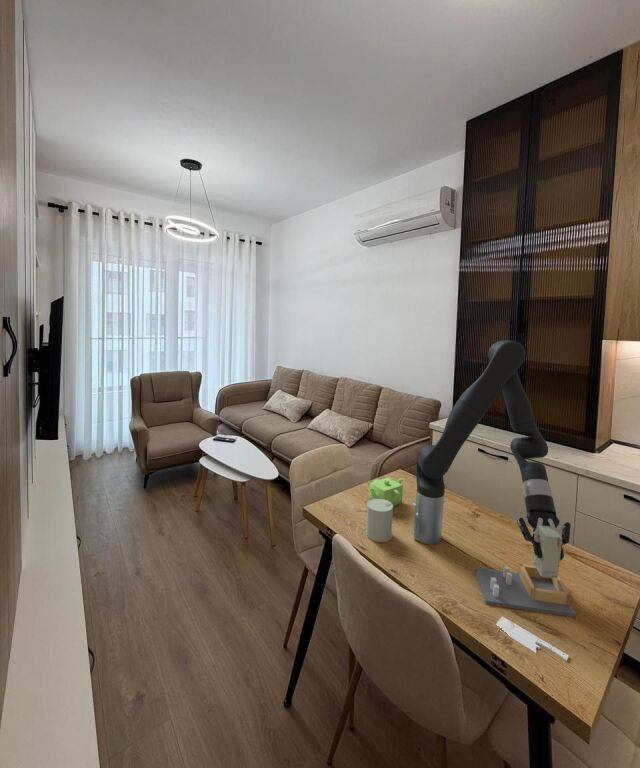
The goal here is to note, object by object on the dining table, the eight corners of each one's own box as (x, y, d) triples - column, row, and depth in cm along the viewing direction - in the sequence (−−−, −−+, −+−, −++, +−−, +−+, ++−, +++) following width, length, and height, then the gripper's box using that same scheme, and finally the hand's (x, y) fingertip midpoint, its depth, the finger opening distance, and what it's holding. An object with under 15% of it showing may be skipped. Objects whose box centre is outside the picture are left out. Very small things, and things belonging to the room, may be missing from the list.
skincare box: (558, 579, 101) (563, 538, 99) (540, 577, 102) (545, 537, 99) (549, 564, 107) (553, 525, 105) (532, 562, 108) (537, 524, 106)
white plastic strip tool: (561, 672, 82) (561, 668, 81) (493, 629, 93) (493, 625, 93) (568, 658, 85) (569, 654, 85) (502, 618, 96) (502, 615, 96)
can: (395, 540, 128) (397, 509, 126) (370, 543, 127) (371, 511, 125) (386, 526, 137) (388, 496, 135) (362, 528, 136) (363, 498, 134)
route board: (485, 603, 100) (487, 590, 100) (475, 570, 114) (476, 558, 113) (575, 617, 96) (577, 603, 95) (553, 580, 110) (554, 568, 109)
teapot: (402, 497, 160) (403, 474, 158) (405, 513, 147) (406, 489, 145) (367, 495, 162) (368, 472, 160) (366, 510, 149) (367, 486, 147)
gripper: (516, 491, 109) (526, 553, 100) (569, 495, 107) (584, 559, 97) (509, 499, 115) (517, 558, 106) (559, 503, 113) (573, 564, 103)
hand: (549, 558), depth 102 cm, fingers closed on skincare box, 4 cm apart
